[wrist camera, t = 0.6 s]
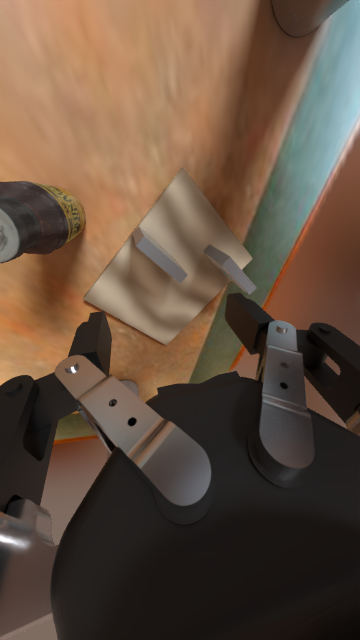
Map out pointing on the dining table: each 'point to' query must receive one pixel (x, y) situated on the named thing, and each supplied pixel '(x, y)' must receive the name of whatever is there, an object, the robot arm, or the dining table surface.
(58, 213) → the sauce bottle
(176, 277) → the slate tile
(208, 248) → the slate tile
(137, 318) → the white flat sheet
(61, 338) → the dining table surface
